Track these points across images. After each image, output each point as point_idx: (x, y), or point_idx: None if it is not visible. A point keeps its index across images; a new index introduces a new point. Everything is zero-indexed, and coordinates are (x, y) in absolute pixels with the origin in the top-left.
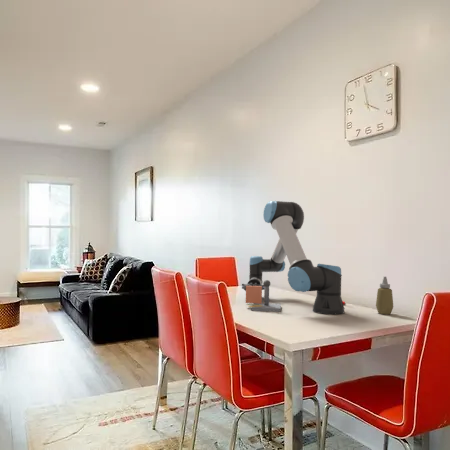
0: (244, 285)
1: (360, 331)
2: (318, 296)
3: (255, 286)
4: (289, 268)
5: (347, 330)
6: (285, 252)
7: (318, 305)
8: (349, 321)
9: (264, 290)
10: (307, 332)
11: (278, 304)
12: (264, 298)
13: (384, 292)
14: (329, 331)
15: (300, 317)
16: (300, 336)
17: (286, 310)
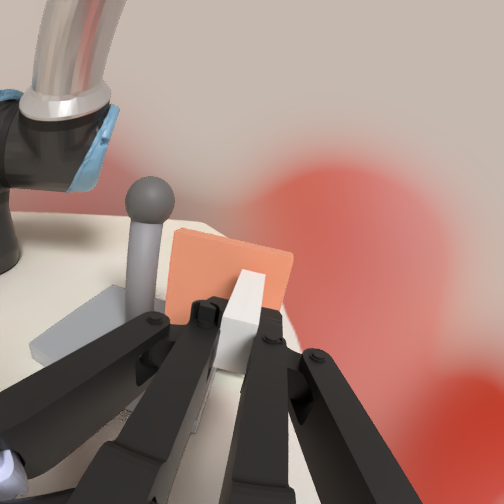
0: (361, 404)
1: (85, 214)
2: (4, 210)
3: (224, 237)
4: (105, 105)
5: (97, 218)
6: (108, 18)
7: (14, 236)
8: (41, 227)
9: (159, 250)
10: None
11: (54, 335)
12: (154, 297)
13: None
14: (126, 221)
15: (103, 254)
16: (180, 224)
17: (72, 302)
